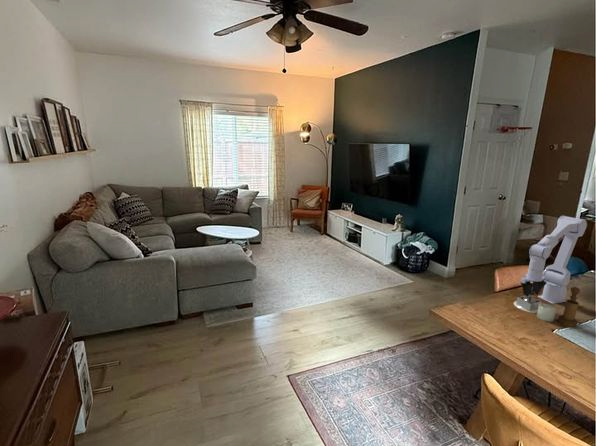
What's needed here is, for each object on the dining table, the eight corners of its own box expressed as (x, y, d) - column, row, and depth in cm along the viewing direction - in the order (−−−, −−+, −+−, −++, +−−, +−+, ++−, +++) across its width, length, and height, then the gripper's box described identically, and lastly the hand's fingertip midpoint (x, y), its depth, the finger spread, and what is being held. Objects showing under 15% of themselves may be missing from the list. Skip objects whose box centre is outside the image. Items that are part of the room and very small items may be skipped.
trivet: (525, 299, 161) (525, 299, 161) (549, 311, 150) (549, 311, 150) (507, 302, 158) (507, 302, 158) (530, 315, 147) (530, 314, 147)
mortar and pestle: (580, 328, 136) (589, 291, 131) (563, 327, 137) (572, 290, 133) (570, 320, 142) (579, 284, 138) (554, 319, 143) (562, 283, 139)
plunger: (528, 297, 156) (530, 287, 154) (538, 302, 151) (540, 291, 150) (520, 299, 155) (522, 288, 153) (530, 303, 150) (532, 292, 149)
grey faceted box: (522, 300, 160) (523, 293, 159) (540, 309, 151) (541, 302, 150) (511, 301, 158) (513, 295, 157) (529, 311, 150) (530, 304, 149)
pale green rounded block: (543, 314, 148) (546, 302, 146) (557, 321, 142) (560, 309, 140) (533, 315, 146) (535, 304, 145) (546, 323, 140) (549, 311, 139)
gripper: (539, 264, 154) (533, 289, 158) (516, 267, 151) (511, 292, 154) (553, 269, 148) (548, 295, 151) (530, 273, 144) (525, 299, 147)
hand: (530, 294), depth 152 cm, fingers open, 5 cm apart
